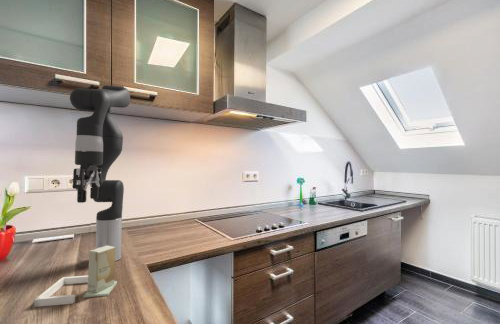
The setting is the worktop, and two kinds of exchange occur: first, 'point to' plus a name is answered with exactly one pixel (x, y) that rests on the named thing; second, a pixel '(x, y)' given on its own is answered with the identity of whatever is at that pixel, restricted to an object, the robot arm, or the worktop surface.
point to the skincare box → (101, 268)
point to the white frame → (56, 300)
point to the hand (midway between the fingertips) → (88, 200)
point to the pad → (100, 292)
